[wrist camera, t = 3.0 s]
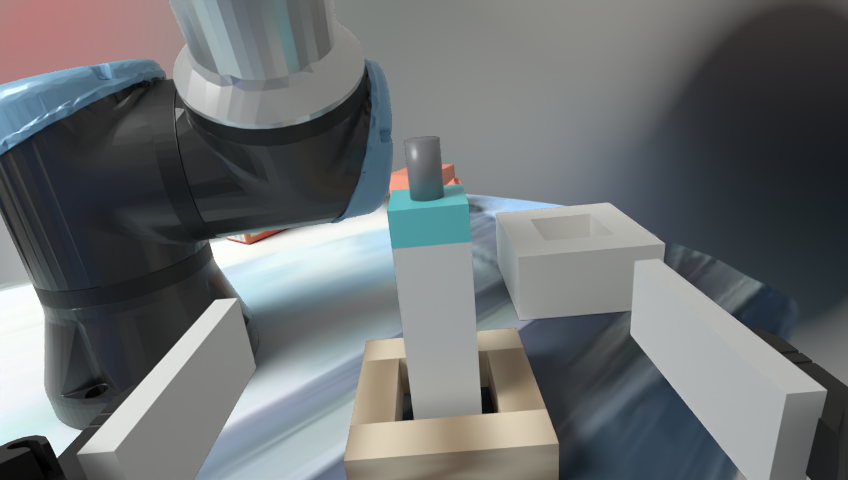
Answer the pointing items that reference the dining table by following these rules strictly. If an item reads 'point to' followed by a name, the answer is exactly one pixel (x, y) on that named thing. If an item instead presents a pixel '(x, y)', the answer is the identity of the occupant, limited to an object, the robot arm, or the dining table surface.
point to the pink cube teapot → (401, 182)
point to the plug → (435, 286)
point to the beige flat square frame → (452, 421)
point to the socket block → (571, 259)
